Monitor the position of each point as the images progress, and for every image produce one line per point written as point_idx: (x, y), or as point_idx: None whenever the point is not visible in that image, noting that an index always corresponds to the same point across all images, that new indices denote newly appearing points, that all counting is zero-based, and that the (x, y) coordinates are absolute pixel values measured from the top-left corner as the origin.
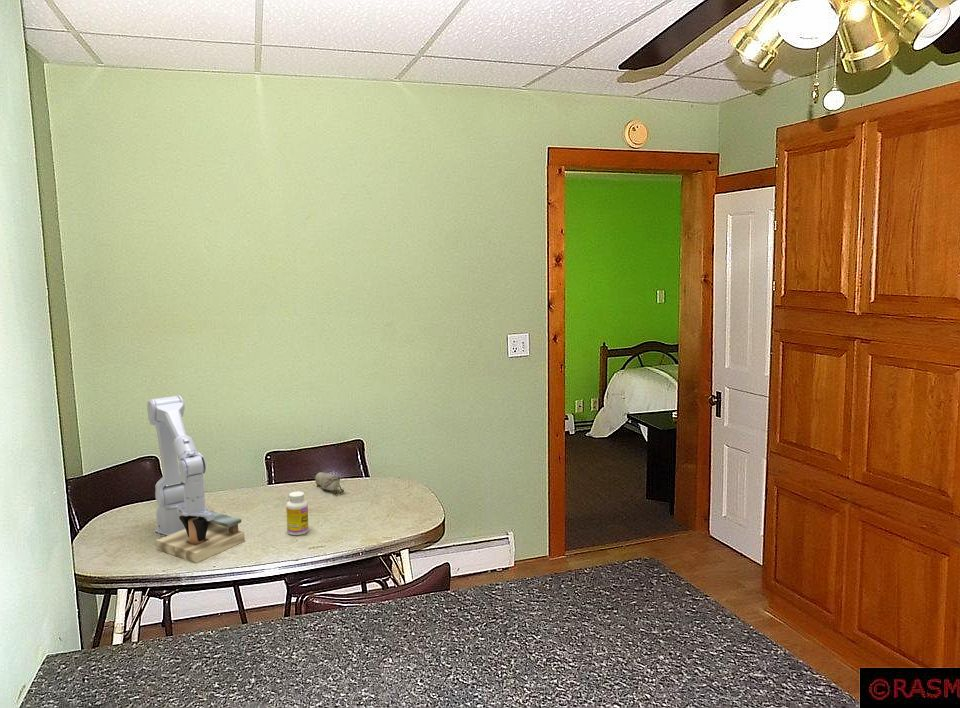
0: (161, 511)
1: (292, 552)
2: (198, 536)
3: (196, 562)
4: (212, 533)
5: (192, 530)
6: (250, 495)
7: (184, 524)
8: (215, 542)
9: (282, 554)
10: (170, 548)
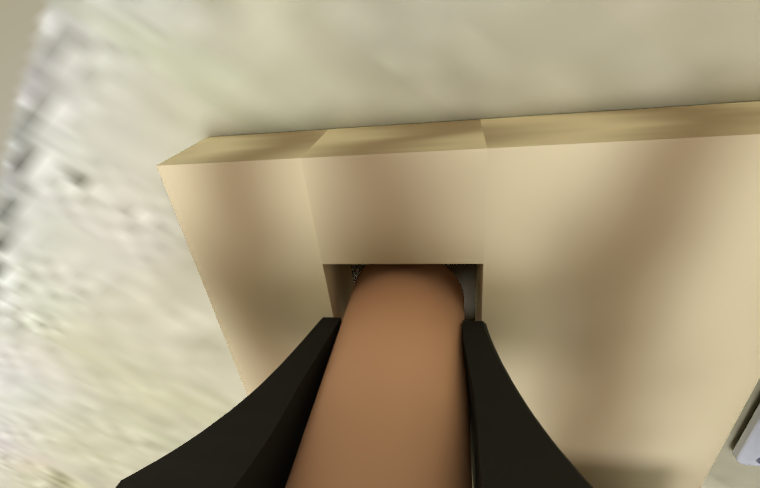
0: None
1: (53, 436)
2: (299, 346)
3: (206, 139)
4: None
5: (343, 384)
6: None
7: (519, 443)
8: (263, 362)
9: (53, 413)
10: (560, 130)
